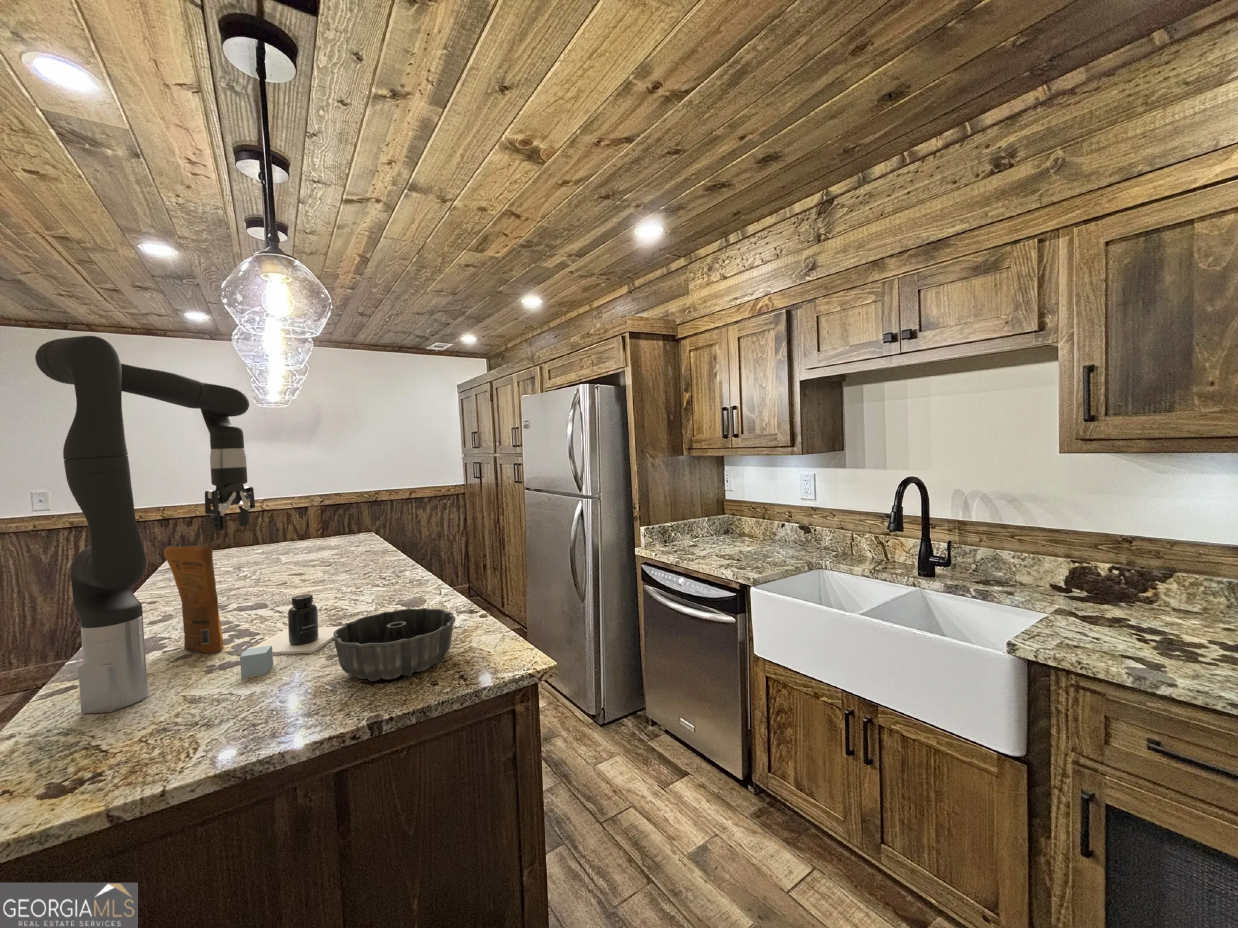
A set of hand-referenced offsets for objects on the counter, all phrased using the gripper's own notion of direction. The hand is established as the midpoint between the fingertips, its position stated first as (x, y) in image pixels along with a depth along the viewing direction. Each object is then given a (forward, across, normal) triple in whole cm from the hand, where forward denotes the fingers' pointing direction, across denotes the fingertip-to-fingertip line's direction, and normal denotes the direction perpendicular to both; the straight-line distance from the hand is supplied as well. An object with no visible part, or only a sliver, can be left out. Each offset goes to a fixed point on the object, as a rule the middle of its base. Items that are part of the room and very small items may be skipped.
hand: (232, 528), depth 134 cm
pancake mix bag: (+32, +2, +12) cm, 35 cm away
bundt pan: (+32, -15, -48) cm, 60 cm away
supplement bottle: (+32, +2, -16) cm, 35 cm away
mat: (+32, +4, -13) cm, 35 cm away
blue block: (+32, -15, -15) cm, 39 cm away
